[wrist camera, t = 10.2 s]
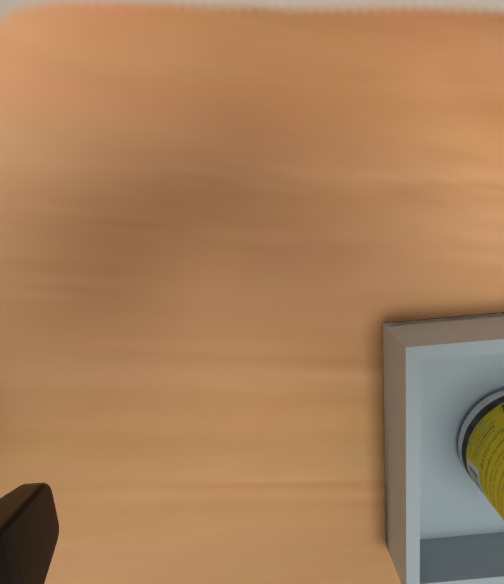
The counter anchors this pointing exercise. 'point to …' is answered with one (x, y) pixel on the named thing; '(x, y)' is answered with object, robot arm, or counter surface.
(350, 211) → the counter surface
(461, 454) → the supplement bottle
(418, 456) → the tray
